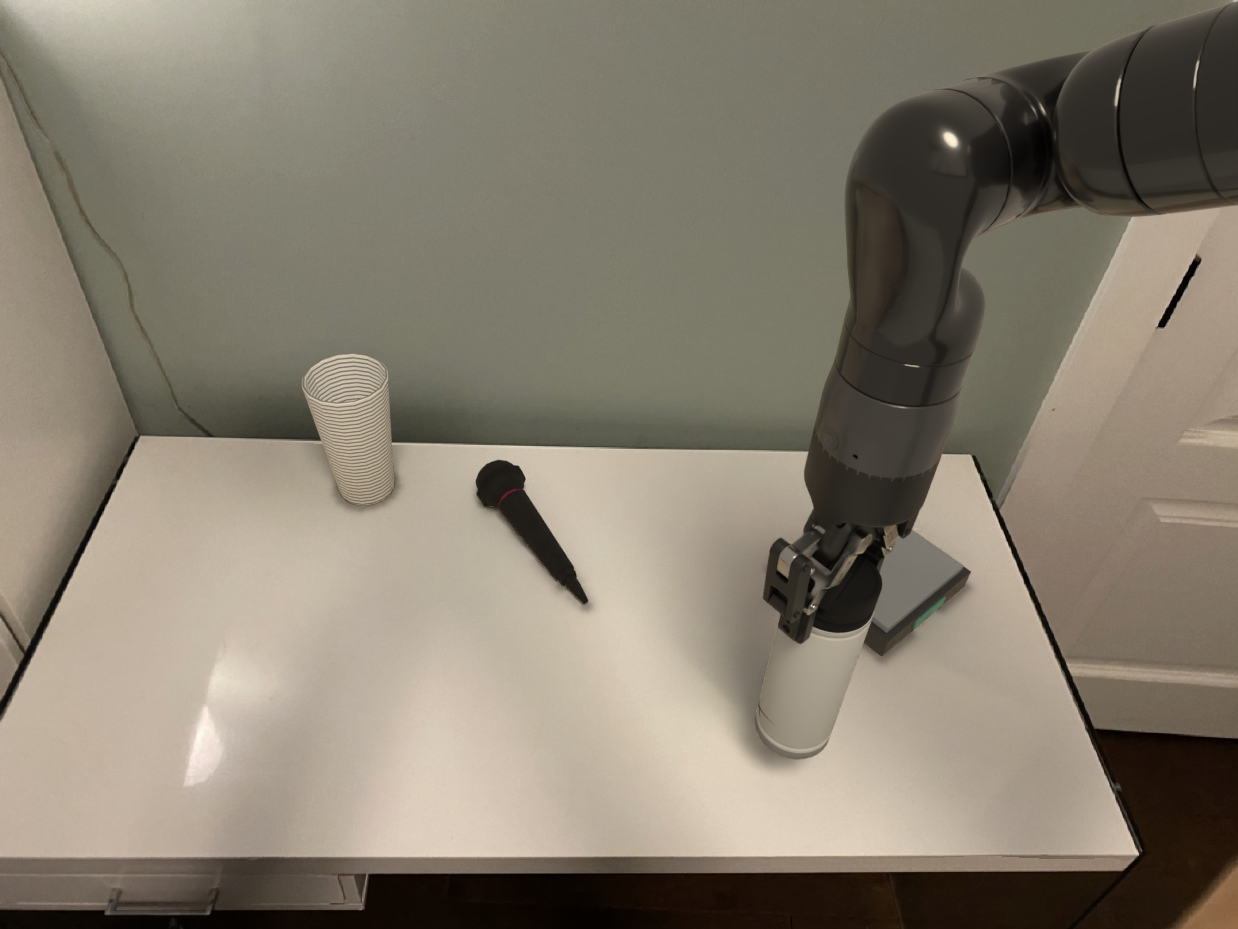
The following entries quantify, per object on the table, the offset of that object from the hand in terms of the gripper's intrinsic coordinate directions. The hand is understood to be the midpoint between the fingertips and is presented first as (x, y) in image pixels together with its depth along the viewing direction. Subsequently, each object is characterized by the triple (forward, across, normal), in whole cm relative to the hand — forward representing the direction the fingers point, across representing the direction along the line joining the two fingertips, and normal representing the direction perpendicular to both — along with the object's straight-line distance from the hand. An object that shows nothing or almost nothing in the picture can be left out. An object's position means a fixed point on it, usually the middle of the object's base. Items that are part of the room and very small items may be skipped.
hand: (826, 607), depth 65 cm
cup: (+21, -11, +52) cm, 57 cm away
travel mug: (+16, 0, 0) cm, 16 cm away
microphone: (+21, -2, +34) cm, 40 cm away
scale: (+21, +23, +8) cm, 32 cm away
